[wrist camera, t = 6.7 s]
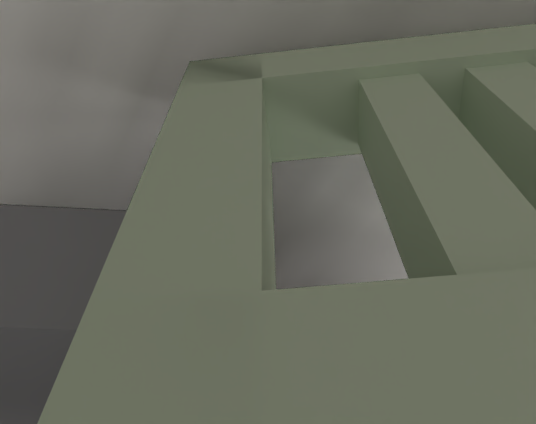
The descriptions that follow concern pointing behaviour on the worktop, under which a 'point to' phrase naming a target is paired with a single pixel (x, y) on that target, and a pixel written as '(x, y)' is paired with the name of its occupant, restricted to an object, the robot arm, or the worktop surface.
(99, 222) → the rubber block
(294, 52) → the block
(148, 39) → the worktop surface
